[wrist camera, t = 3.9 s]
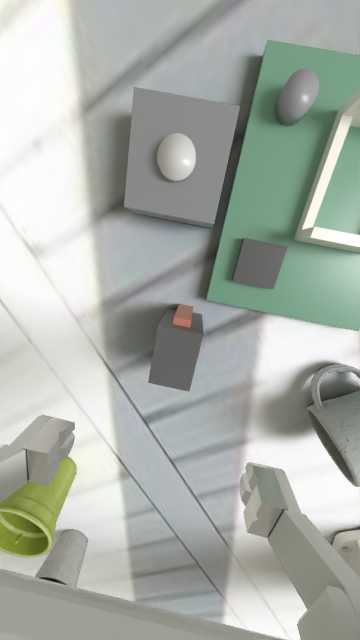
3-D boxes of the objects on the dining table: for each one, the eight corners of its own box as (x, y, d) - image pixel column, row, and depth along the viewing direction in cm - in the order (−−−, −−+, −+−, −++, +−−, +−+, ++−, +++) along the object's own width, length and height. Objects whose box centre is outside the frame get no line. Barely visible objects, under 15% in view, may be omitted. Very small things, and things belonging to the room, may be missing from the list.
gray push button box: (211, 228, 20) (214, 222, 17) (134, 213, 20) (121, 204, 17) (233, 130, 18) (241, 100, 14) (144, 113, 18) (131, 80, 14)
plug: (191, 360, 25) (189, 391, 19) (159, 353, 25) (148, 382, 19) (203, 308, 23) (204, 327, 17) (168, 301, 23) (158, 317, 17)
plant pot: (99, 474, 33) (65, 548, 25) (59, 492, 35) (16, 564, 27) (60, 435, 31) (9, 501, 23) (20, 456, 33) (-38, 523, 25)
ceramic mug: (385, 418, 25) (461, 484, 18) (317, 438, 27) (361, 506, 20) (360, 348, 23) (435, 390, 15) (288, 375, 25) (326, 425, 17)
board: (350, 327, 22) (383, 343, 18) (206, 297, 22) (207, 307, 18) (466, 90, 16) (559, 33, 12) (262, 55, 16) (284, -12, 12)
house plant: (49, 560, 42) (-37, 737, 27) (24, 516, 38) (-96, 694, 23) (113, 562, 40) (60, 754, 25) (93, 516, 36) (15, 711, 21)
